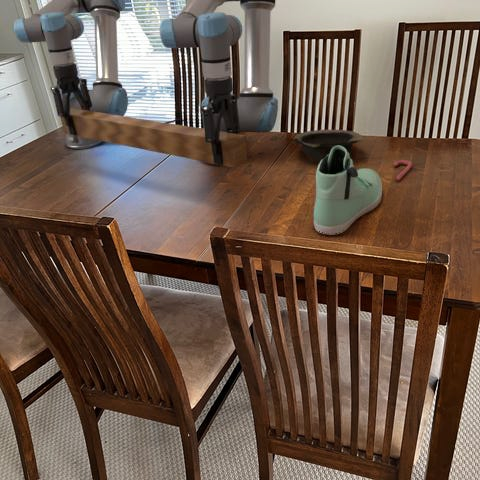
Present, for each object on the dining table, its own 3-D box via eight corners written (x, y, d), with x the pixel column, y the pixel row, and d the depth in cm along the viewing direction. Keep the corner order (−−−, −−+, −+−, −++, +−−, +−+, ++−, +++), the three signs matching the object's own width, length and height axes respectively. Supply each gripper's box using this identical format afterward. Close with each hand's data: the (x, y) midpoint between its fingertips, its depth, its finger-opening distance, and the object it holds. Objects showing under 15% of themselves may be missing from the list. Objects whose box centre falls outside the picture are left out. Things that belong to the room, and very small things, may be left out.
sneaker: (389, 187, 148) (396, 123, 138) (356, 242, 123) (361, 168, 112) (346, 181, 154) (350, 119, 144) (306, 232, 129) (307, 161, 118)
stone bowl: (320, 174, 160) (319, 147, 155) (281, 157, 180) (279, 132, 176) (378, 156, 168) (378, 130, 164) (334, 141, 189) (333, 118, 184)
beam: (64, 133, 172) (59, 112, 168) (77, 128, 176) (72, 108, 172) (235, 168, 134) (233, 142, 130) (247, 160, 138) (245, 135, 134)
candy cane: (380, 178, 154) (381, 174, 154) (397, 162, 164) (397, 158, 164) (399, 182, 151) (399, 178, 150) (414, 165, 161) (415, 161, 161)
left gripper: (47, 71, 151) (66, 141, 163) (93, 58, 164) (107, 125, 176) (32, 69, 155) (52, 138, 167) (79, 57, 168) (94, 122, 180)
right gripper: (207, 87, 118) (216, 173, 130) (249, 70, 131) (253, 150, 143) (184, 85, 122) (194, 169, 134) (226, 68, 135) (233, 146, 147)
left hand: (80, 131), depth 171 cm, fingers closed on beam, 6 cm apart
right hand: (225, 159), depth 139 cm, fingers closed on beam, 6 cm apart
